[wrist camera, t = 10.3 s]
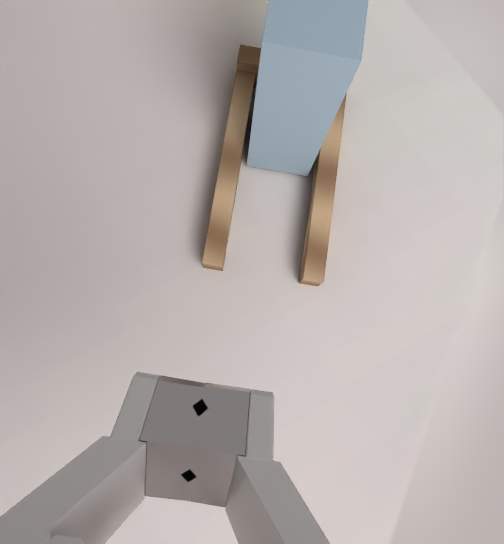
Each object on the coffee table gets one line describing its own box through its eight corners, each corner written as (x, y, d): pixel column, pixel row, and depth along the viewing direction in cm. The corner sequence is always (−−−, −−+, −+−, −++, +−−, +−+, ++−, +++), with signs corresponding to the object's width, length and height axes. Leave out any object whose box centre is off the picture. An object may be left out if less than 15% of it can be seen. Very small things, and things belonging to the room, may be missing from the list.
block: (307, 176, 35) (361, 60, 22) (246, 165, 35) (261, 42, 21) (314, 121, 36) (370, -24, 23) (255, 110, 36) (276, -41, 22)
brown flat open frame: (317, 286, 34) (327, 279, 31) (203, 267, 34) (201, 258, 31) (342, 88, 37) (352, 65, 34) (238, 69, 37) (240, 44, 34)
